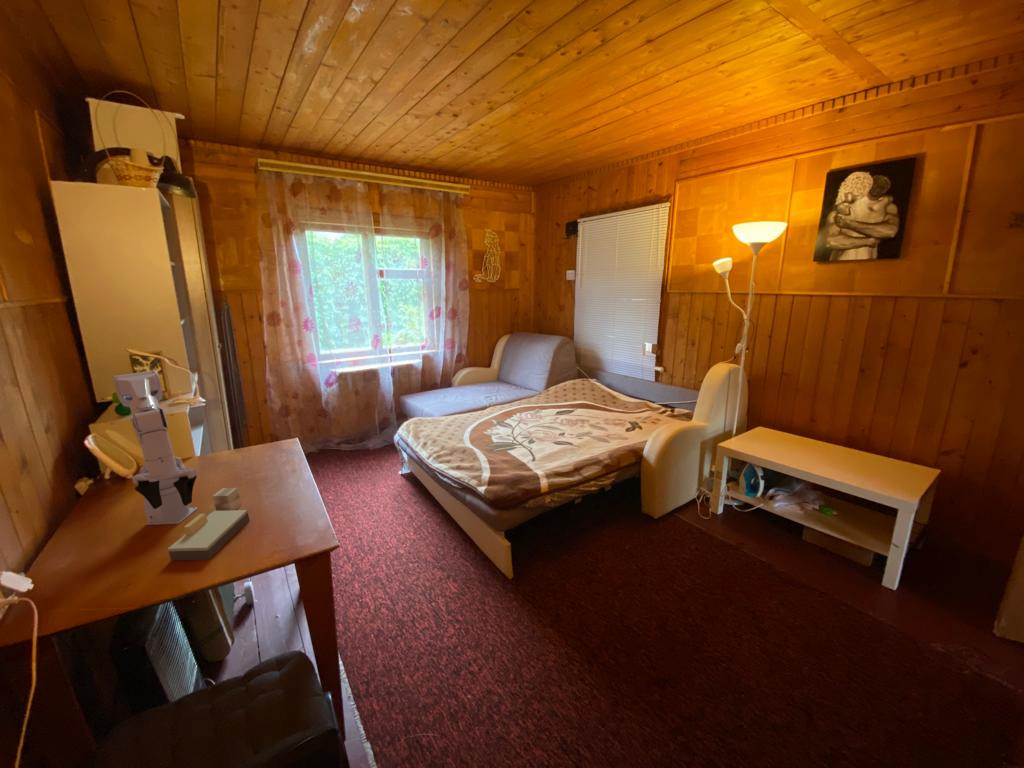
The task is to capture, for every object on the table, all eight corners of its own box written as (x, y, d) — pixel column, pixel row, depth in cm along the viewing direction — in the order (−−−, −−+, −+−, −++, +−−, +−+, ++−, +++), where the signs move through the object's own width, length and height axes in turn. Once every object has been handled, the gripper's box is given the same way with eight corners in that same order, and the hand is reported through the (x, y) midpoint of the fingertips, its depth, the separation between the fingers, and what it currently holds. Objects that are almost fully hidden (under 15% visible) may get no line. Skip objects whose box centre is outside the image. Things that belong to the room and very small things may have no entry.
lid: (168, 551, 104) (165, 539, 103) (214, 513, 120) (211, 503, 119) (207, 550, 104) (204, 538, 103) (247, 512, 120) (245, 502, 119)
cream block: (217, 514, 124) (212, 496, 123) (226, 505, 129) (222, 488, 127) (232, 513, 124) (227, 495, 123) (241, 505, 129) (237, 487, 127)
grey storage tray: (171, 560, 105) (168, 551, 104) (216, 521, 121) (214, 513, 120) (209, 559, 105) (207, 550, 104) (249, 520, 121) (247, 512, 120)
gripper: (116, 465, 103) (131, 516, 105) (177, 459, 103) (191, 509, 106) (139, 455, 109) (153, 502, 112) (196, 449, 110) (209, 496, 113)
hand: (173, 505), depth 110 cm, fingers open, 7 cm apart
